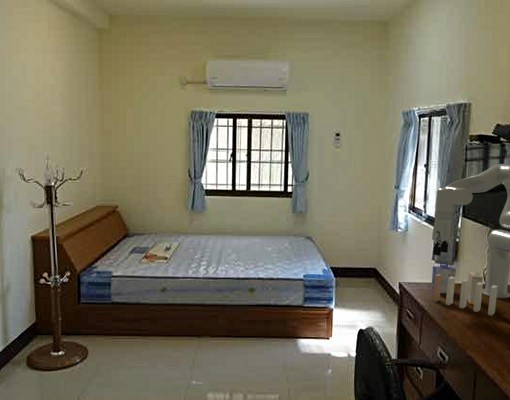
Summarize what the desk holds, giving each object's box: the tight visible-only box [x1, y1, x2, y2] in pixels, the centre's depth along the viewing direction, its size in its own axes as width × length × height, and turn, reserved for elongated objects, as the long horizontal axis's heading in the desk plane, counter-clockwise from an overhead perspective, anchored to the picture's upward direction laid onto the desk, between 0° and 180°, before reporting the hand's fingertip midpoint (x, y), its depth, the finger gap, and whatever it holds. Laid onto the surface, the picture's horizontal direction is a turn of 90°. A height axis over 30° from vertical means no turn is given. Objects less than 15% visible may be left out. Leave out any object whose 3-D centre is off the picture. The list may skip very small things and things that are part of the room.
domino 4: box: [472, 282, 484, 313], centre depth 225 cm, size 4×2×12 cm, turn 140°
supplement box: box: [467, 271, 484, 305], centre depth 237 cm, size 8×5×13 cm, turn 168°
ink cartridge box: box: [430, 261, 457, 294], centre depth 250 cm, size 10×6×14 cm, turn 89°
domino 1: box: [431, 274, 442, 303], centre depth 237 cm, size 4×2×12 cm, turn 139°
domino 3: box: [458, 278, 469, 309], centre depth 229 cm, size 4×2×12 cm, turn 140°
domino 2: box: [445, 276, 456, 306], centre depth 233 cm, size 4×2×12 cm, turn 140°
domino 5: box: [487, 285, 498, 316], centre depth 221 cm, size 4×2×12 cm, turn 140°
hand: (440, 253), depth 235 cm, fingers open, 8 cm apart
